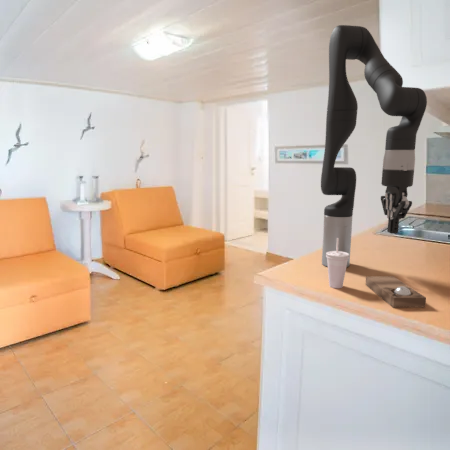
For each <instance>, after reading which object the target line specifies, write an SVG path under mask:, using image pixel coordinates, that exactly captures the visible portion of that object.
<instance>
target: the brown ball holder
mask: <svg viewBox="0 0 450 450" xmlns="http://www.w3.org/2000/svg"><path fill="white" fill-rule="evenodd" d="M364 284H365V286H366V287H368V289H370V290H371V291H373V293H375V294H376V295H378V297H380V298H381V299H382V300H383V301H384V302H385V303H387V304H388V305H389V306H390V307H392V308H393V309H394V308H395V309H396V308H426V305H427V303H426V302H427V297H426V296H424V294H421V293H420V292H418V291H416V290H415V289H414V288H413V287H411V286H409V285H407V283H405V282H403V281H402V280H400V279H398V278H397V277H396V276H394V275H391V276H390V275H386V276H385V275H384V276H381V275H380V276H379V275H377V276H376V275H375V276H374V275H373V276H369V275H368V276H365V283H364ZM400 286H404V287H406V288H408V289H409V290H410V292H411V296H402V295H398V294H394V291H395V289H396V288H397V287H400Z"/></svg>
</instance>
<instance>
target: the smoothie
mask: <svg viewBox="0 0 450 450" xmlns="http://www.w3.org/2000/svg"><path fill="white" fill-rule="evenodd" d="M338 244H339V238H337V243H336V251H329V252H326V257H327V264H328V266H327V274H328V275H327V276H328V286H329V288H333V289H342V288H343V287H344V281H345V275H346V271H347V267H346V266H347V261H348V259H349V254H348V253H346V252H342V251H338Z"/></svg>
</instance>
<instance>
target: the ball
mask: <svg viewBox="0 0 450 450" xmlns="http://www.w3.org/2000/svg"><path fill="white" fill-rule="evenodd" d="M394 294H398V295H402V296H411V292H410V290H409V289H408V288H406V287H404V286H400V287H397V288H396V289H395V291H394Z"/></svg>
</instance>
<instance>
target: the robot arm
mask: <svg viewBox="0 0 450 450" xmlns="http://www.w3.org/2000/svg"><path fill="white" fill-rule="evenodd" d="M347 60H350V61H351V60H353V61H355V60H358V61H359V62H361V63H363V64H364V65H365V66H364V71H363V72H364V79H365V81H366V83H367V84H368V85H369V86H370V88H371V90H373V92H375V93H376V96H377V100H378V103H379V106H380V108H381V109H380V110H381V111H382V112H384V113H385V114H386V115H388V116H391V117H401V120H400V121H399V124H398V125H395V126H392V127H389V128H388V129H387V130H386V136H385V147H384V149H385V150H384V153H383V154H384V155H383V160H382V161H383V162H382V171H381V173H382V174H381V183H380V184H381V186H383V187H386V189H385V194H384V195H381V196H380V201H381V205H382V209H383V214H384V216H386V218H387V219H388V220H387V233H389V234H392V235H393V234H398V232H399V227H400V226H399V225H400V220H402V219H405V218H406V216H407V214H408V212H409V210H410V208H411V207H412V205H413V201H412V200H408V193H409V192H408V188H411V187H413V185H414V176H415V174H414V173H415V165H416V143H417V134H418V131H419V129H420V126H421V123H422V120H423V117H424V114H425V112H426V108H427V105H428V104H427V103H428V98H427V95H426V93H425V92H426V91H424V90H423V89H422V88H420V87H410V86H409V87H408V86H403V85H404V81H403V77H402V75H401V74H400V73H399V72H398V71H397V69H396V68H395V67H394V66H392V64H391V63H389V61H388V60H387V59H386V58H385V56H384V55H383V53H382V51H381V50H380V48H379V46H378V44H377V43H376V41H375V38H374V37H373V35H372V34H371V32H370V30H369V29H368V28H366V27H364V26H360V25H348V24H340V25H339V24H338V25H336V26H335V27H334V28H333V30H332V32H331V34H330V37H329V42H328V69H329V70H328V72H329V73H328V95H327V96H328V97H327V108H326V118H325V119H326V123H325V142H324V154H323V160H322V168H321V174H320V175H321V176H320V190H321V193H322V194H323V195H325V196H341V197H340V199H338V200H337V201H336V202H333V203H332V204H328V205H326V206H325V207H324V210H323V212H324V213H323V230H322V231H323V232H322V253H321V265H323V266H325V267H328V264H327V257H326V252H329V251H336V243H337V238H339V244H338V251H342V252H346V253H348V254H349V259H348V261H347V266H346V268H348V267H350V262H351V261H350V260H351V249H352V248H351V245H352V231H353V230H352V229H353V215H354V207H355V196H356V187H357V172H356V170H355V169H354V168H353V167H349V166H348V167H347V166H345V167H344V166H341V167H339V166H338V167H337V166H336V167H335V165H336V164H335V163H336V160H337V156H338V154H339V153H340V150H341V149H342V148H343V146H344V145H345V143H346V142H347V141H348V139H349V137H351V136H352V134H353V132H354V130H355V128H356V126H357V117H358V101H357V97H356V95H355V93H354V90H353V88H352V87H351V84H350V82H349V80H348V76H347V67H346V65H347Z"/></svg>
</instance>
